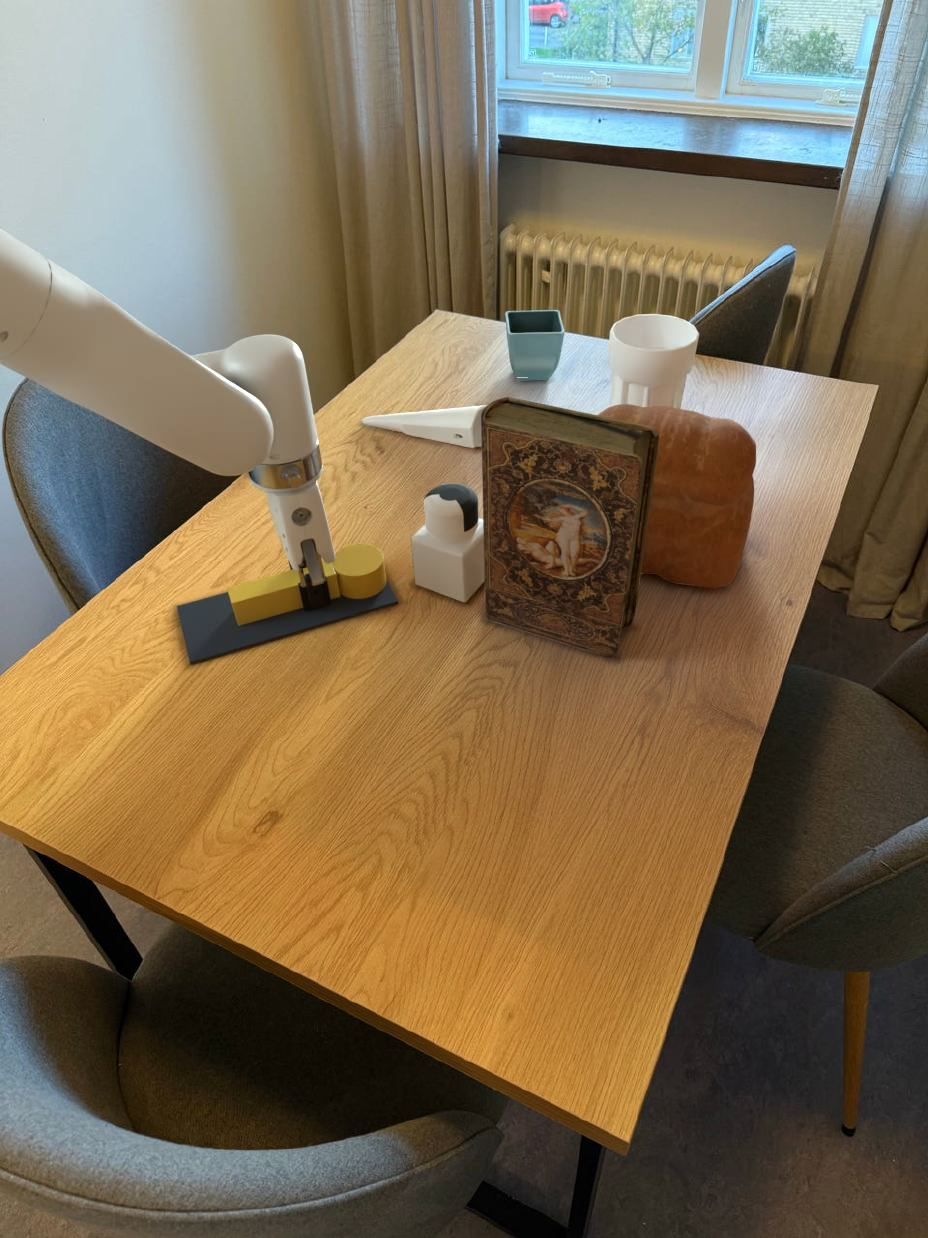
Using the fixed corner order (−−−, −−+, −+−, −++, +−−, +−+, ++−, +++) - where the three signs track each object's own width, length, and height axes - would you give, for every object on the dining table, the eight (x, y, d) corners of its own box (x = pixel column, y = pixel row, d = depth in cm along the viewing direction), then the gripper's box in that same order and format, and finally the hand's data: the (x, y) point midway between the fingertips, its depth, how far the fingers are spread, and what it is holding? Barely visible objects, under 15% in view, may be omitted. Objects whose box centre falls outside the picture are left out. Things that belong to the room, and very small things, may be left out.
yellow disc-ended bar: (241, 634, 93) (234, 611, 91) (231, 602, 97) (224, 579, 95) (393, 590, 98) (390, 567, 95) (377, 561, 102) (374, 538, 100)
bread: (730, 607, 94) (762, 482, 83) (548, 569, 100) (554, 447, 89) (750, 520, 106) (779, 400, 95) (586, 490, 112) (595, 374, 101)
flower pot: (556, 361, 140) (559, 308, 134) (562, 386, 134) (565, 332, 128) (504, 363, 140) (504, 310, 134) (507, 388, 134) (507, 334, 128)
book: (478, 617, 94) (472, 420, 77) (498, 588, 98) (497, 394, 81) (617, 660, 89) (643, 458, 72) (633, 628, 92) (662, 428, 75)
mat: (190, 664, 91) (189, 662, 90) (177, 608, 97) (176, 605, 97) (398, 603, 97) (398, 600, 96) (372, 554, 104) (372, 552, 103)
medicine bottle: (445, 552, 103) (440, 470, 95) (495, 569, 101) (494, 486, 92) (414, 585, 99) (405, 501, 91) (465, 604, 96) (461, 520, 88)
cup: (662, 478, 114) (680, 358, 102) (586, 457, 118) (595, 339, 106) (691, 440, 120) (711, 323, 109) (619, 421, 125) (631, 307, 113)
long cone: (385, 416, 132) (494, 430, 124) (364, 439, 128) (475, 455, 120) (376, 384, 128) (488, 396, 120) (354, 406, 124) (468, 421, 116)
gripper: (342, 493, 80) (364, 630, 93) (299, 415, 92) (324, 546, 104) (265, 513, 78) (298, 650, 91) (232, 430, 90) (265, 562, 102)
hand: (312, 593), depth 97 cm, fingers open, 3 cm apart
